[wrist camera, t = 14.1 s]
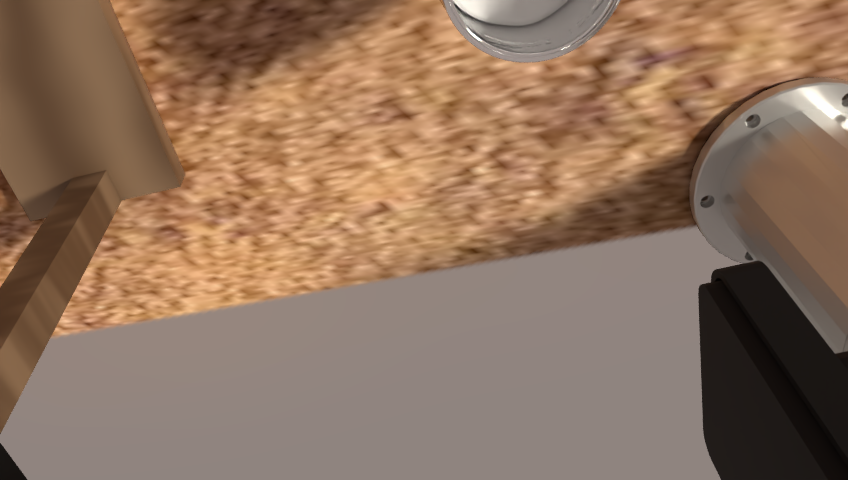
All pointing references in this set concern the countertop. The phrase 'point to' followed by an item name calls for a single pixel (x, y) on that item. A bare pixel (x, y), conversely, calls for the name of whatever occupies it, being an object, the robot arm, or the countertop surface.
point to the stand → (67, 159)
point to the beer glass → (528, 25)
